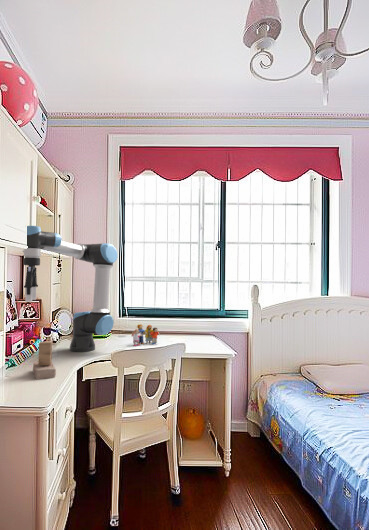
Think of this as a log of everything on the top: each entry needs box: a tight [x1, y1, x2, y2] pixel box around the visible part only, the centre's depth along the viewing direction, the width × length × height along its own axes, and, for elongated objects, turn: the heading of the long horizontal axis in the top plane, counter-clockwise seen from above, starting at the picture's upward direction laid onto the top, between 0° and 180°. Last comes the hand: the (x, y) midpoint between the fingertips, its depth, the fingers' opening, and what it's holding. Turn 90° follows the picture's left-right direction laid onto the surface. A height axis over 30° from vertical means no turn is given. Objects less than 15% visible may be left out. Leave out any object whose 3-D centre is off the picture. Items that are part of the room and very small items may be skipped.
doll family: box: [131, 324, 161, 347], centre depth 250 cm, size 21×10×13 cm, turn 123°
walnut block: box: [37, 340, 53, 366], centre depth 173 cm, size 5×5×10 cm
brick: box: [32, 361, 57, 380], centre depth 172 cm, size 17×8×5 cm, turn 27°
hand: (30, 300), depth 183 cm, fingers open, 13 cm apart
